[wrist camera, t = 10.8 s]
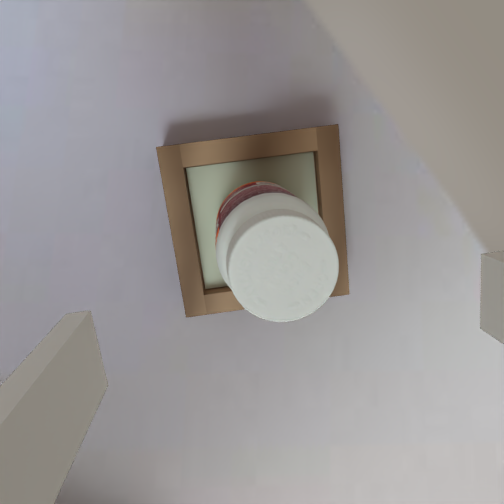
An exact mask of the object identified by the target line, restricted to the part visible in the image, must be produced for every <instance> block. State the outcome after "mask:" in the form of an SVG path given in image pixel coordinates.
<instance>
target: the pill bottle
mask: <svg viewBox="0 0 504 504" xmlns="http://www.w3.org/2000/svg"><path fill="white" fill-rule="evenodd" d="M215 240H216V243H215V246H216V260H217V264H218V268H219V271H220V273H221V275H222V277H223V279H224V281H225V282H226V284H227V285H228V286H229V287H230V289H231V290H232V292H233V294H234V296H235V297H236V299H237V300H238V302H239V303H240V304H241V305H242V306H243V307H244V308H245V309H246V310H247V311H249V312H250V313H251V314H253V315H255V316H257V317H259V318H261V319H264V320H268V321H274V322H289V321H295V320H298V319H301V318H304V317H306V316H308V315H310V314H312V313H313V312H315V311H316V310H317V309H319V308H320V307H321V306H322V305H323V304H324V303H325V302H326V301H327V299H328V298H329V297H330V295H331V293H332V291H333V290H334V287H335V285H336V282H337V278H338V273H339V260H338V255H337V251H336V248H335V246H334V243H333V242H332V240H331V238H330V237H329V234H328V231H327V228H326V226H325V224H324V222H323V220H322V219H321V217H320V216H319V214H318V213H317V212H316V211H315V210H314V209H313V208H312V207H311V206H310V205H308V204H307V203H306V202H305V201H303V200H301V199H299V198H298V197H296V196H295V195H293V194H292V193H291V192H289V191H288V190H286V189H285V188H283V187H281V186H279V185H277V184H275V183H271V182H266V181H256V182H250V183H247V184H244V185H242V186H240V187H238V188H236V189H235V190H233V191H232V192H231V193H230V194H229V195H228V196H227V197H226V198H225V200H224V201H223V202H222V204H221V206H220V208H219V211H218V215H217V219H216V239H215Z"/></svg>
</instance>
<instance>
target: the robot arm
mask: <svg viewBox="0 0 504 504" xmlns="http://www.w3.org/2000/svg"><path fill="white" fill-rule="evenodd" d="M480 329H482V330H483V331H485V332H486V333H488V334H489V335H491V336H492V337H494V338H495V339H496V340H498V341H499V342H501V343H502V344H504V251H498V252H491V253H484V254H481V303H480ZM107 387H108V383H107V379H106V375H105V370H104V366H103V362H102V358H101V353H100V349H99V345H98V341H97V336H96V332H95V328H94V324H93V319H92V315H91V311H90V310H89V311H82V312H75V313H68V314H66V315H65V316H64V317H63V318H62V319H61V320H60V321H59V322H58V323H57V325H56V326H55V327H54V328H53V329H52V330H51V331H50V332H49V333H48V334H47V336H46V337H45V338H44V339H43V340H42V341H41V342H40V343H39V344H38V345H37V347H36V348H35V349H34V350H33V351H32V352H31V353H30V354H29V355H28V356H27V357H26V359H25V360H24V361H23V362H22V363H21V364H20V365H19V366H18V367H17V368H16V370H15V371H14V372H13V373H12V374H11V375H10V376H9V377H8V378H7V379H6V381H5V382H4V383H3V384H2V385H1V386H0V504H54V503H55V500H56V498H57V496H58V494H59V492H60V490H61V487H62V485H63V483H64V481H65V479H66V476H67V474H68V472H69V470H70V468H71V466H72V463H73V461H74V459H75V457H76V455H77V452H78V450H79V448H80V446H81V444H82V441H83V439H84V437H85V435H86V433H87V431H88V428H89V426H90V424H91V422H92V420H93V417H94V415H95V413H96V411H97V409H98V407H99V404H100V402H101V400H102V398H103V396H104V393H105V391H106V389H107Z"/></svg>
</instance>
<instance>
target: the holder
mask: <svg viewBox="0 0 504 504" xmlns="http://www.w3.org/2000/svg"><path fill="white" fill-rule="evenodd" d="M156 149H157V155H158V161H159V166H160V172H161V178H162V183H163V189H164V195H165V200H166V206H167V212H168V217H169V223H170V229H171V234H172V240H173V246H174V251H175V257H176V263H177V268H178V274H179V280H180V285H181V291H182V297H183V302H184V308H185V314H186V317H193V316H200V315H207V314H214V313H221V312H228V311H235V310H242V309H245V308H244V307H243V306H242V305H241V304H240V303H239V302H238V300H237V299H236V297H235V296H234V294H233V292H232V290H231V289H230V287H229V286H228V285H227V284H226V282H225V281H224V279H223V277H222V275H221V273H220V271H219V268H218V264H217V260H216V246H215V243H216V240H215V239H216V219H217V215H218V211H219V208H220V206H221V204H222V202H223V201H224V200H225V198H226V197H227V196H228V195H229V194H230V193H231V192H232V191H233V190H235V189H236V188H238V187H240V186H242V185H244V184H247V183H250V182H256V181H266V182H271V183H275V184H277V185H279V186H281V187H283V188H285V189H286V190H288V191H289V192H291V193H292V194H293V195H295V196H296V197H298V198H299V199H301V200H303V201H305V202H306V203H307V204H308V205H310V206H311V207H312V208H313V209H314V210H315V211H316V212H317V213H318V214H319V216H320V217H321V219H322V220H323V222H324V224H325V226H326V228H327V231H328V234H329V237H330V238H331V240H332V242H333V243H334V246H335V248H336V251H337V255H338V260H339V273H338V278H337V282H336V285H335V287H334V290H333V291H332V293H331V295H330V297H334V296H341V295H348V294H349V280H348V265H347V250H346V234H345V219H344V204H343V188H342V173H341V158H340V142H339V127H338V124H336V125H328V126H320V127H312V128H304V129H296V130H288V131H280V132H272V133H264V134H256V135H249V136H241V137H233V138H225V139H217V140H209V141H201V142H193V143H185V144H177V145H169V146H161V147H156Z"/></svg>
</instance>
